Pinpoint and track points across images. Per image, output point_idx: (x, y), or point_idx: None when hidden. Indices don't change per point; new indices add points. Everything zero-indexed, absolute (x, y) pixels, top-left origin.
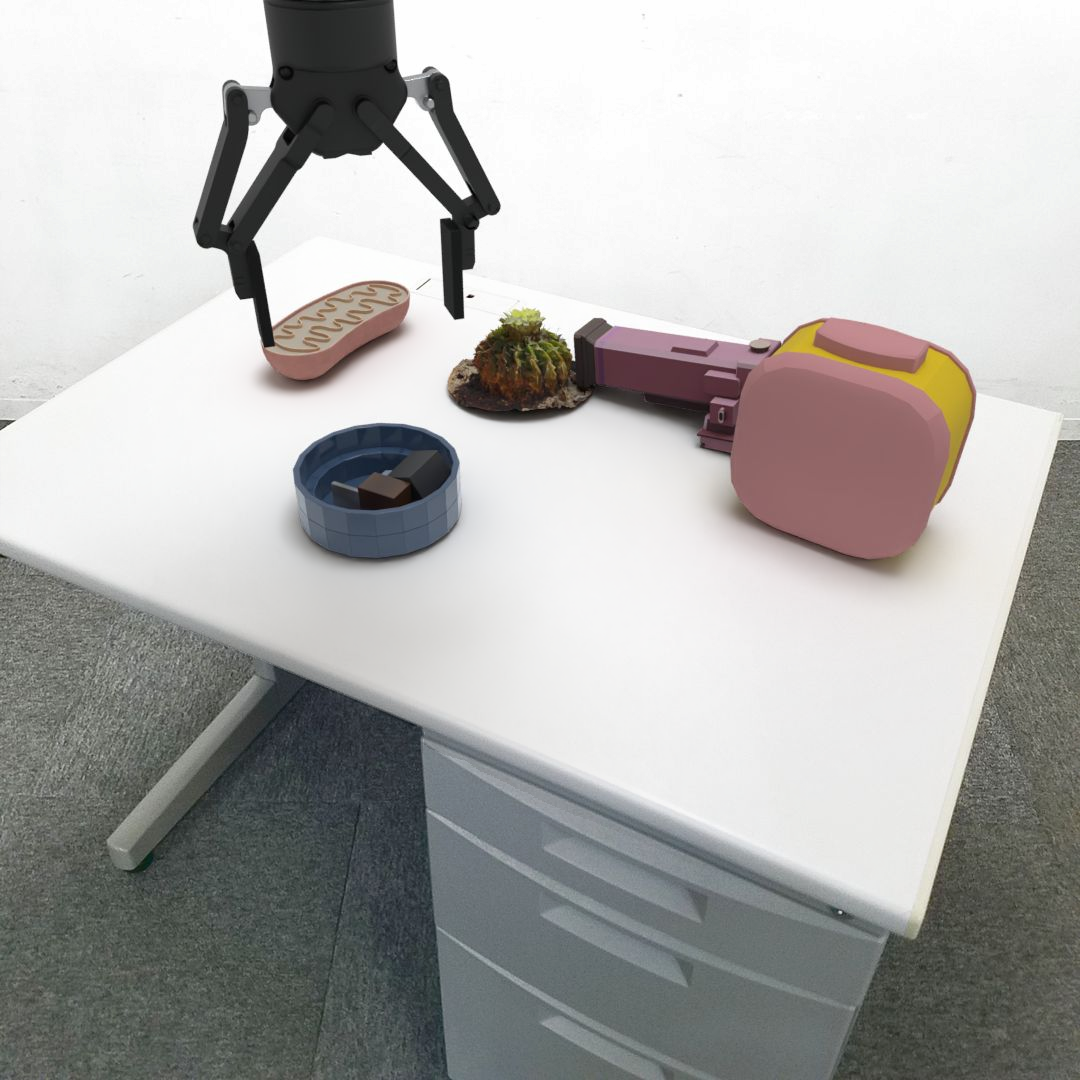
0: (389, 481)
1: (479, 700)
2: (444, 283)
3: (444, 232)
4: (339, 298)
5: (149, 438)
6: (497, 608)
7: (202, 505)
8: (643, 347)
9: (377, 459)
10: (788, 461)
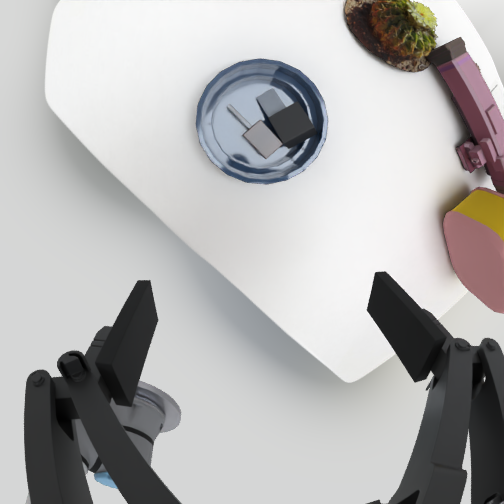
0: (268, 136)
1: (266, 296)
2: (388, 294)
3: (420, 351)
4: None
5: (121, 5)
6: (299, 239)
7: (140, 81)
8: (475, 92)
9: (269, 78)
10: (469, 252)
